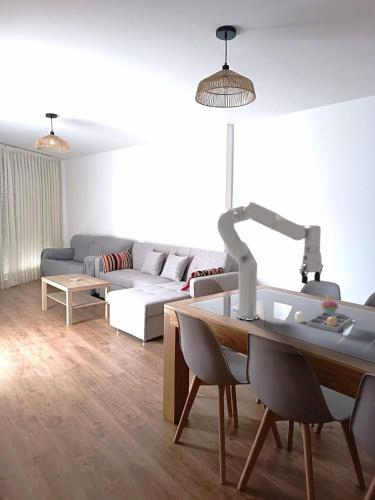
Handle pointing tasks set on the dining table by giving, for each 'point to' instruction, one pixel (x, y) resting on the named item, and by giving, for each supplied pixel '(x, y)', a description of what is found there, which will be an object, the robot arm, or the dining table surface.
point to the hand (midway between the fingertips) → (310, 282)
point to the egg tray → (322, 318)
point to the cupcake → (329, 306)
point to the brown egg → (332, 321)
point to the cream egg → (299, 317)
